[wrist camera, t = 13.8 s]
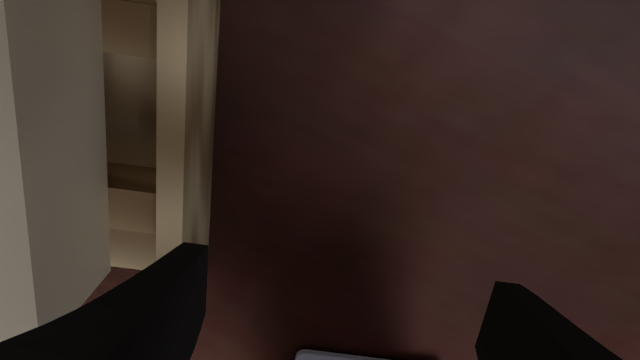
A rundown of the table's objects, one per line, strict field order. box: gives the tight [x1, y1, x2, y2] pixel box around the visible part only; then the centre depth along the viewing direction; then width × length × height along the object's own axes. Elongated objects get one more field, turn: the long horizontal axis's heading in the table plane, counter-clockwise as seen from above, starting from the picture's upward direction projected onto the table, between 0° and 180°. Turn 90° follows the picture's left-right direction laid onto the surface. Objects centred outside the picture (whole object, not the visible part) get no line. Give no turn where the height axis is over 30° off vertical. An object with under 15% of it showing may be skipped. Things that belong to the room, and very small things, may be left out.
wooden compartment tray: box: [101, 0, 221, 270], centre depth 19 cm, size 16×10×4 cm, turn 173°
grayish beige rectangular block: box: [0, 0, 111, 342], centre depth 15 cm, size 13×4×5 cm, turn 173°
